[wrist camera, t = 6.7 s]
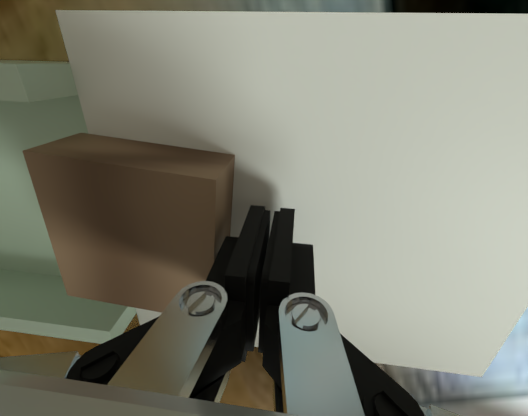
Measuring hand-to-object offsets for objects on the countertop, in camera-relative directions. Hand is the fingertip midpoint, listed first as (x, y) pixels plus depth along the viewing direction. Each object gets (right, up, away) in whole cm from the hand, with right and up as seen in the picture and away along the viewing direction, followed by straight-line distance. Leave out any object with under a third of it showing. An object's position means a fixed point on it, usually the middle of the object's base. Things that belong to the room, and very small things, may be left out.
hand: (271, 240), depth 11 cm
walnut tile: (-5, +1, +1) cm, 5 cm away
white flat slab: (+2, +2, +3) cm, 4 cm away
